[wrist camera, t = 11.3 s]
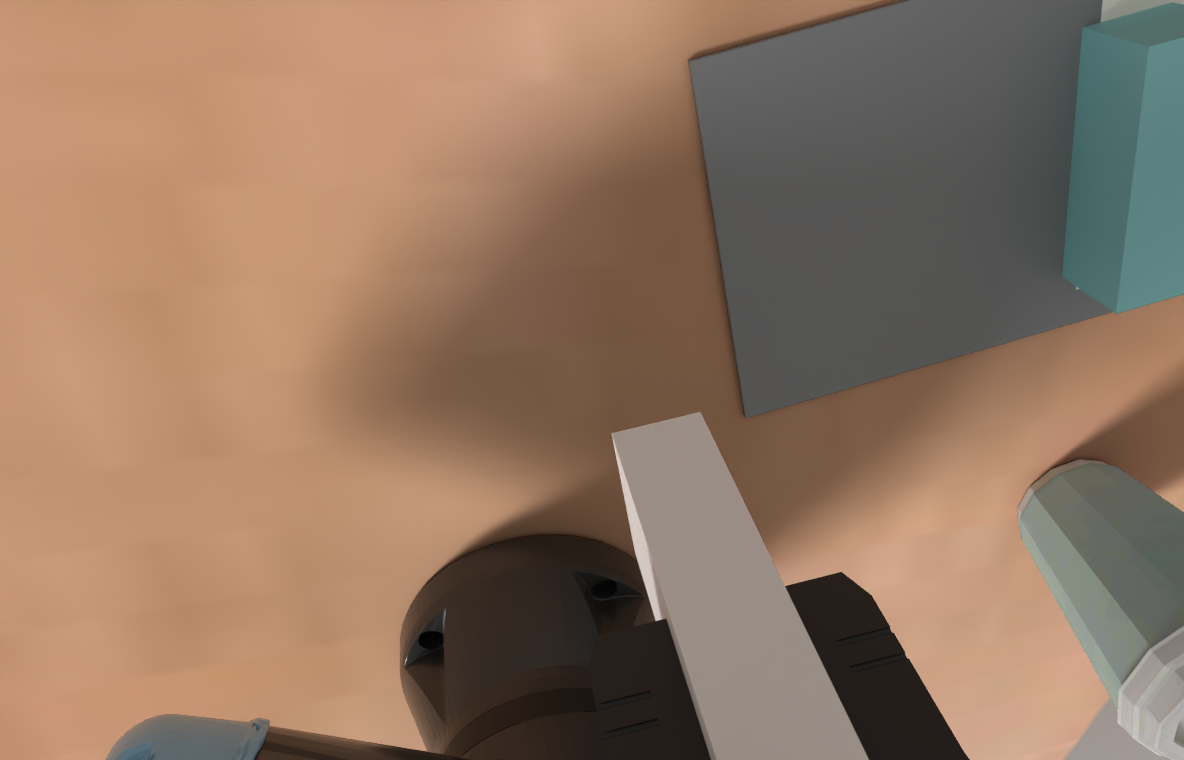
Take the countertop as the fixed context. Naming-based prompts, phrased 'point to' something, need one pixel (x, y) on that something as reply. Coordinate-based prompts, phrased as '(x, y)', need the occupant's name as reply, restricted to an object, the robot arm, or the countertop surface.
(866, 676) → the robot arm
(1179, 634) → the disposable coffee cup
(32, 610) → the countertop surface
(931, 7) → the board
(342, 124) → the countertop surface
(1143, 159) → the t block
